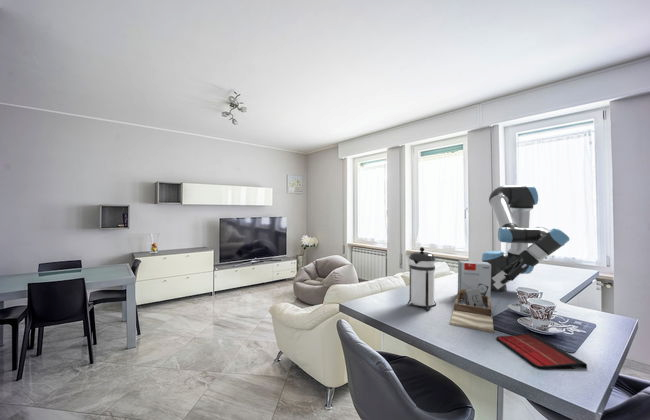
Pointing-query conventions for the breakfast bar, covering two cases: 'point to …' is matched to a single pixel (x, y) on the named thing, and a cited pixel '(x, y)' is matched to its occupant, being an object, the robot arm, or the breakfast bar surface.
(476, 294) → the electrical switch
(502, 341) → the binder
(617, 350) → the breakfast bar surface
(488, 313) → the holder frame
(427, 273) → the coffee press
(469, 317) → the birch board
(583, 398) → the breakfast bar surface
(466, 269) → the hard drive box
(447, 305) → the breakfast bar surface
